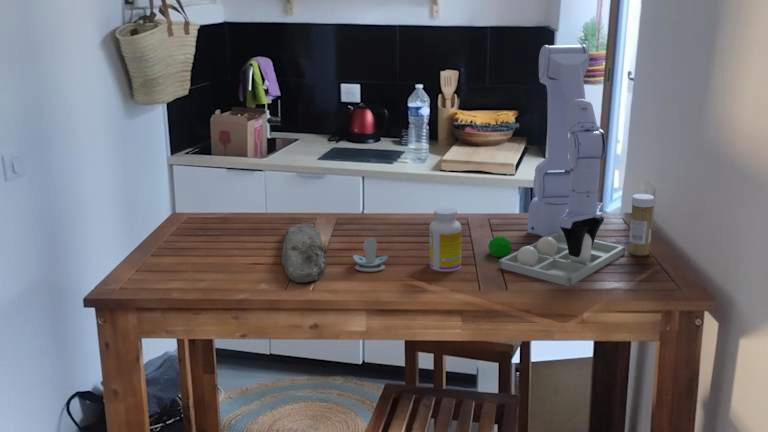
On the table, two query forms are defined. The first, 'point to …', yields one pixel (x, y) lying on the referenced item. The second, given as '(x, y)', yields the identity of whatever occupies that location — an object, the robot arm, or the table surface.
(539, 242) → the cream egg middle
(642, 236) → the sprinkles bottle
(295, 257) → the long grey stone
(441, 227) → the supplement bottle
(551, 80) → the robot arm
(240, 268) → the table surface
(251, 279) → the table surface
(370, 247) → the pacifier
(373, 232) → the table surface
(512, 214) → the table surface
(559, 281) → the egg tray
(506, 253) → the polyhedron
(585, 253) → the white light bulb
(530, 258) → the cream egg front
